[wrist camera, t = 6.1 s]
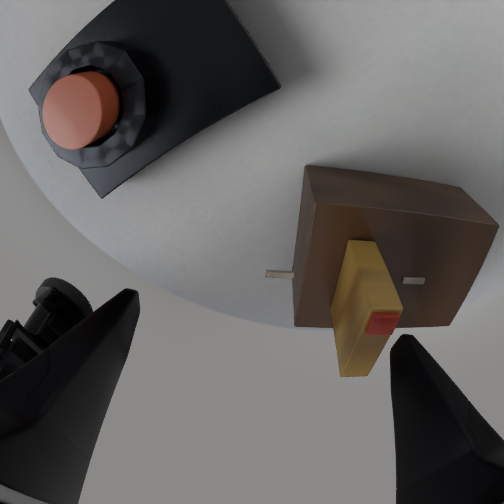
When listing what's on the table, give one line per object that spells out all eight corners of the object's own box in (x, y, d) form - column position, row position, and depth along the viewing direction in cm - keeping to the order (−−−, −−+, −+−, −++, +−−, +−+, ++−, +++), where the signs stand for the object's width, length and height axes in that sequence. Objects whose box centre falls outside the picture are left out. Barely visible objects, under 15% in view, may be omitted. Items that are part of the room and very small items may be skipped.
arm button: (86, 152, 13) (67, 164, 12) (52, 102, 12) (31, 109, 10) (133, 111, 12) (116, 119, 11) (97, 56, 10) (76, 58, 9)
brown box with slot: (264, 272, 22) (261, 327, 17) (271, 162, 17) (270, 200, 13) (426, 279, 21) (450, 328, 17) (460, 187, 16) (501, 226, 12)
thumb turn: (353, 309, 16) (368, 380, 12) (329, 308, 16) (340, 381, 12) (375, 241, 14) (406, 313, 10) (347, 238, 14) (372, 313, 10)
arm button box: (116, 184, 18) (86, 214, 15) (48, 84, 14) (8, 96, 11) (280, 85, 14) (282, 90, 11) (197, -38, 10) (176, -61, 7)
